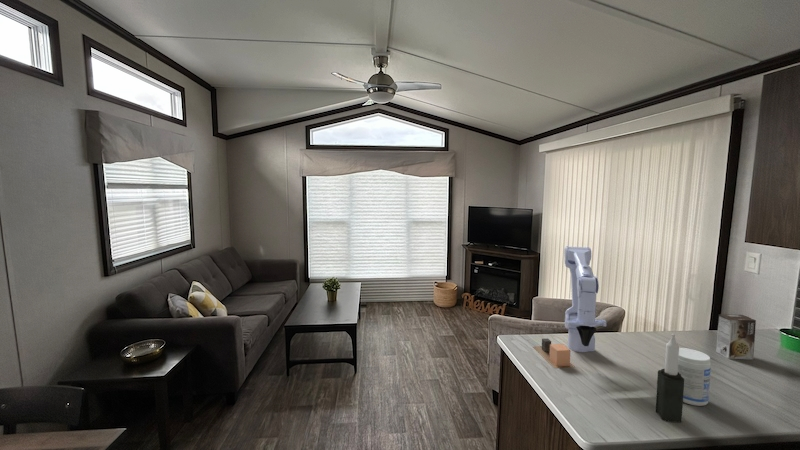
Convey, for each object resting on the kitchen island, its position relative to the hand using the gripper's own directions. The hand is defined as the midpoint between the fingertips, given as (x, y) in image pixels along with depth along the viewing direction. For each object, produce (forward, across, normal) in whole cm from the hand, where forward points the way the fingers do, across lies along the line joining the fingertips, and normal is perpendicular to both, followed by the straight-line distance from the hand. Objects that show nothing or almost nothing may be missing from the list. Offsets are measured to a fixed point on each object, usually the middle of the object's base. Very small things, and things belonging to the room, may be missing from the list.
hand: (585, 345), depth 126 cm
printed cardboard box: (+10, +66, +5) cm, 67 cm away
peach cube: (+8, -8, +3) cm, 12 cm away
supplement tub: (+10, +22, -20) cm, 31 cm away
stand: (+9, -8, +8) cm, 15 cm away
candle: (+10, +8, -28) cm, 31 cm away
